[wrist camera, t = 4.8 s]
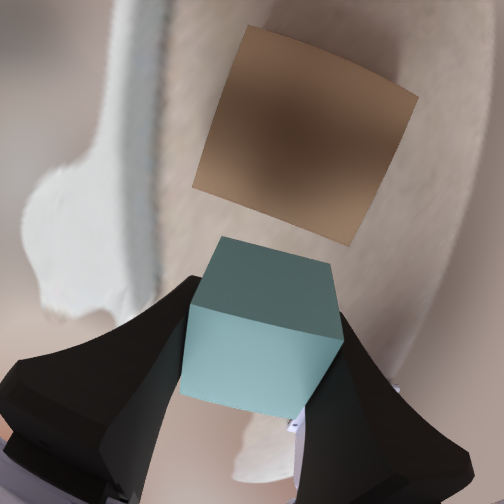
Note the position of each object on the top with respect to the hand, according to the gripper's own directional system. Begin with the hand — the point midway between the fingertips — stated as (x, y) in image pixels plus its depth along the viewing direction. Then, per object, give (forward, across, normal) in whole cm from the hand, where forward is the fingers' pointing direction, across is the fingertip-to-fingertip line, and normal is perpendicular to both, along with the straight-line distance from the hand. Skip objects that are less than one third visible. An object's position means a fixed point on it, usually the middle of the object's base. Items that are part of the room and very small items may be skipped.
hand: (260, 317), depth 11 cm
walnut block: (+9, 0, -6) cm, 11 cm away
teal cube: (+2, 0, 0) cm, 2 cm away
